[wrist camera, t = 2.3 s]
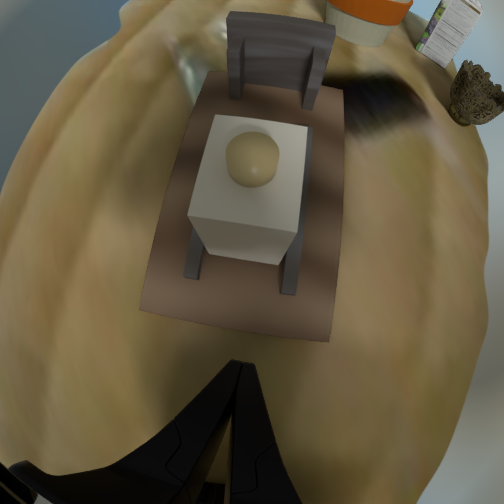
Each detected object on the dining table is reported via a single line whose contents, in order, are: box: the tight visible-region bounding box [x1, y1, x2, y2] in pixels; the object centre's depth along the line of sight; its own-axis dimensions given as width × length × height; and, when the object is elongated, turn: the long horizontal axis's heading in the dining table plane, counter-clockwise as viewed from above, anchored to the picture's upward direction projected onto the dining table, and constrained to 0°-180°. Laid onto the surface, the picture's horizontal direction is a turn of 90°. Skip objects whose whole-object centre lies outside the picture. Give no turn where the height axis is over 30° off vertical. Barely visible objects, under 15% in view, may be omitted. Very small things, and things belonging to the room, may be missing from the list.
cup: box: [449, 60, 504, 126], centre depth 22 cm, size 8×7×8 cm
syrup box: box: [416, 0, 483, 68], centre depth 23 cm, size 6×6×14 cm
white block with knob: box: [187, 114, 308, 265], centre depth 17 cm, size 6×5×9 cm
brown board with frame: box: [139, 11, 344, 342], centre depth 19 cm, size 24×14×9 cm, turn 171°
